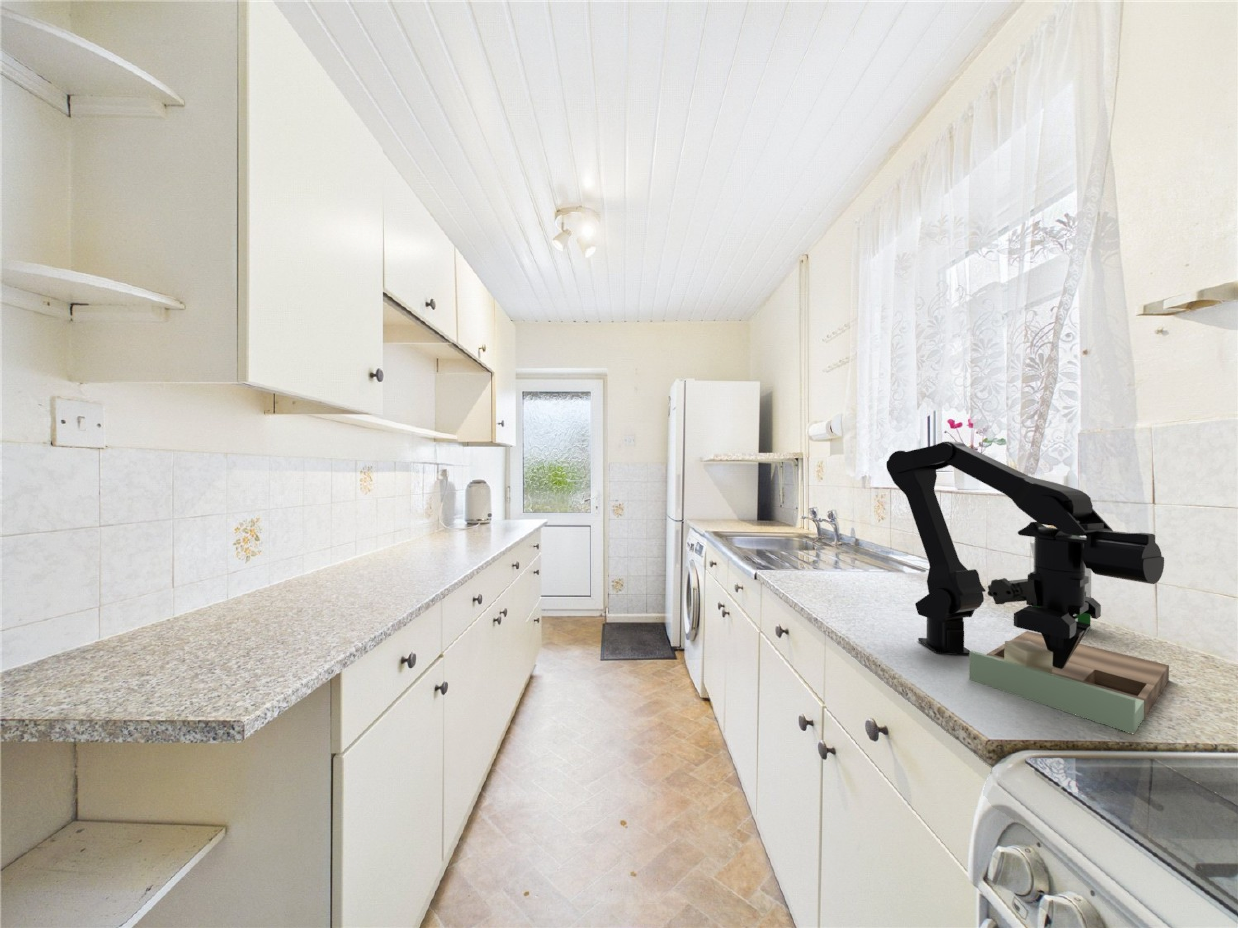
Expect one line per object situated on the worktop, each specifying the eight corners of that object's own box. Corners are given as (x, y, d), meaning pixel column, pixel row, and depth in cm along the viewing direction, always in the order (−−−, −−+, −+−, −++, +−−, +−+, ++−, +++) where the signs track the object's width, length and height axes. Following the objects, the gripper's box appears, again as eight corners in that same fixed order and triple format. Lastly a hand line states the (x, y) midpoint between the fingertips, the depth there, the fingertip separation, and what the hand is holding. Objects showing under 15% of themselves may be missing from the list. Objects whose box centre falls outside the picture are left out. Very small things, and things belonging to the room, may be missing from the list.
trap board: (1026, 643, 90) (1026, 630, 90) (1168, 680, 75) (1168, 665, 75) (985, 668, 78) (985, 654, 78) (1143, 718, 63) (1144, 700, 63)
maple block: (1028, 665, 74) (1029, 641, 74) (1051, 677, 70) (1052, 652, 70) (1003, 665, 74) (1004, 640, 74) (1025, 677, 70) (1026, 651, 70)
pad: (985, 668, 78) (986, 642, 78) (1143, 718, 63) (1144, 686, 63) (969, 679, 74) (969, 651, 74) (1133, 734, 59) (1133, 700, 59)
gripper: (1014, 553, 83) (1013, 638, 83) (973, 565, 73) (972, 662, 73) (1101, 564, 74) (1101, 660, 74) (1069, 580, 63) (1068, 692, 63)
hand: (1058, 667), depth 71 cm, fingers closed
